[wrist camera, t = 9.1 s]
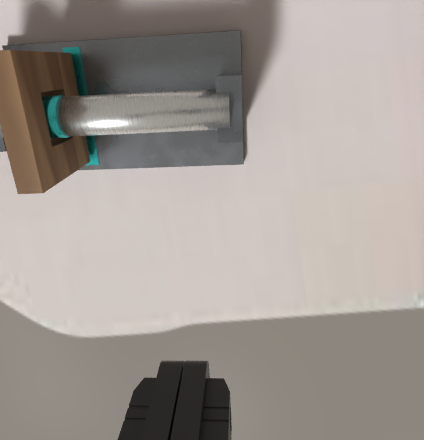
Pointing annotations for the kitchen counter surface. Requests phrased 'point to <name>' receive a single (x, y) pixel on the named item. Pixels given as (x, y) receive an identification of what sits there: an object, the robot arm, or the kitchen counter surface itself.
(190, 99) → the rail
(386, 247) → the kitchen counter surface
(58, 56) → the collar
